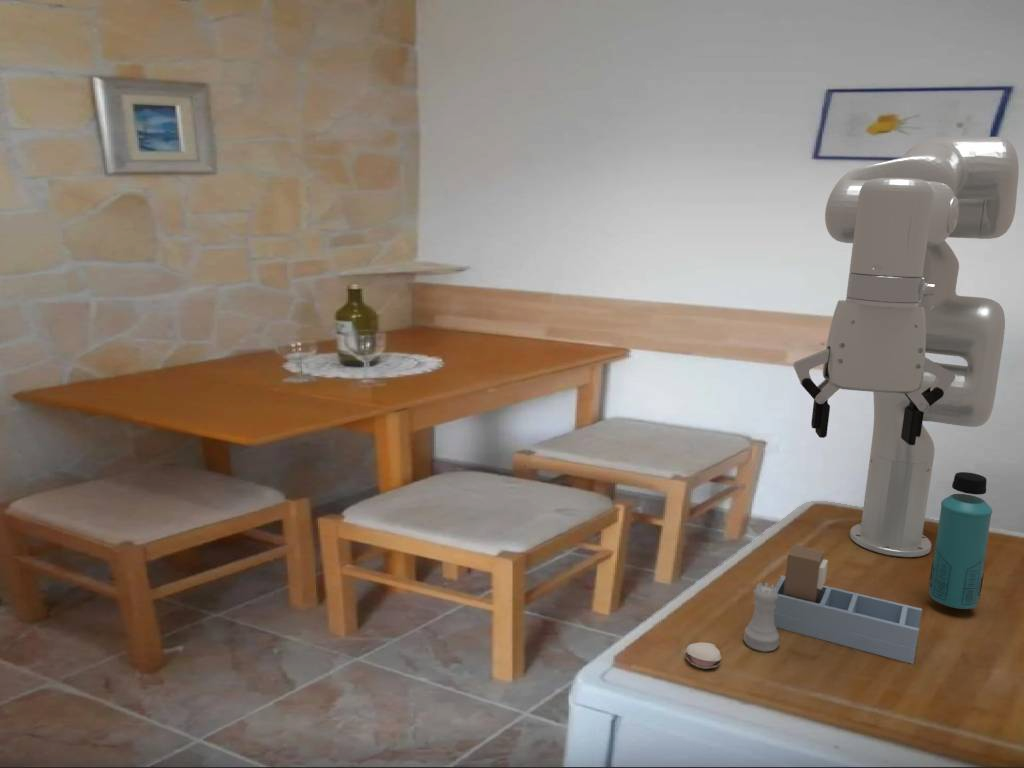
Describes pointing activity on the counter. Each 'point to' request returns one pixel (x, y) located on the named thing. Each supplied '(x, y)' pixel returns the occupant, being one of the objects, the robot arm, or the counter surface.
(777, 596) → the rook chess piece
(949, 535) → the beverage bottle
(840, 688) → the counter surface
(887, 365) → the robot arm
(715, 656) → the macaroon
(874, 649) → the blue-grey divided tray
